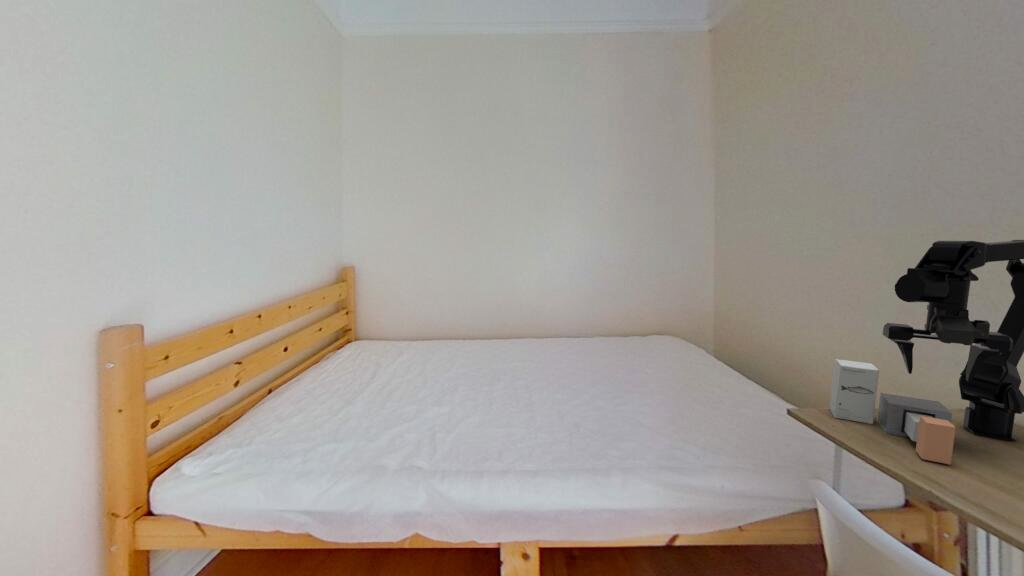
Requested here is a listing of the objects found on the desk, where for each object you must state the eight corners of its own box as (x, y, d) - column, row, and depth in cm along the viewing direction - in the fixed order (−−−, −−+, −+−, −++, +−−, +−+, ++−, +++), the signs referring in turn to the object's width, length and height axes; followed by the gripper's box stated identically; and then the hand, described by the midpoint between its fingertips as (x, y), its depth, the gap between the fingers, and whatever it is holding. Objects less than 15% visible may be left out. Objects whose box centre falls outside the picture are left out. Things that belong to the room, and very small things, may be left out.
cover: (928, 439, 94) (933, 406, 93) (950, 464, 83) (955, 427, 82) (903, 435, 96) (907, 402, 95) (921, 459, 85) (926, 422, 84)
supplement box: (833, 418, 105) (839, 364, 103) (828, 408, 111) (834, 357, 110) (873, 425, 101) (880, 369, 100) (866, 414, 108) (872, 362, 107)
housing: (934, 430, 99) (938, 401, 99) (948, 444, 92) (952, 413, 92) (877, 420, 104) (880, 392, 103) (885, 433, 97) (889, 403, 96)
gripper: (899, 302, 90) (890, 379, 92) (1033, 311, 81) (1020, 396, 83) (886, 297, 100) (878, 366, 102) (1004, 305, 91) (993, 381, 93)
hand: (938, 376), depth 94 cm, fingers open, 9 cm apart
